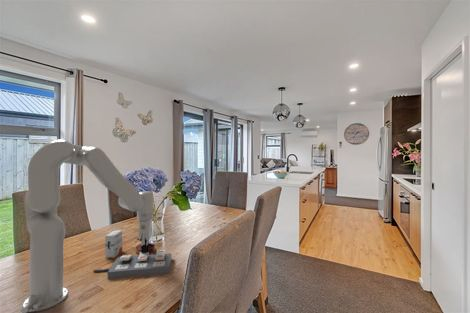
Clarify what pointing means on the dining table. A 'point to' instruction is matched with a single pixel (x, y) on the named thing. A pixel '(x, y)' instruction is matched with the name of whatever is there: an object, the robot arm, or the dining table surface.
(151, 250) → the dark red apple
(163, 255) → the rocker
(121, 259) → the rocker
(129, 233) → the dining table surface
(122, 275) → the power strip
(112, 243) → the ink box
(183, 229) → the dining table surface
